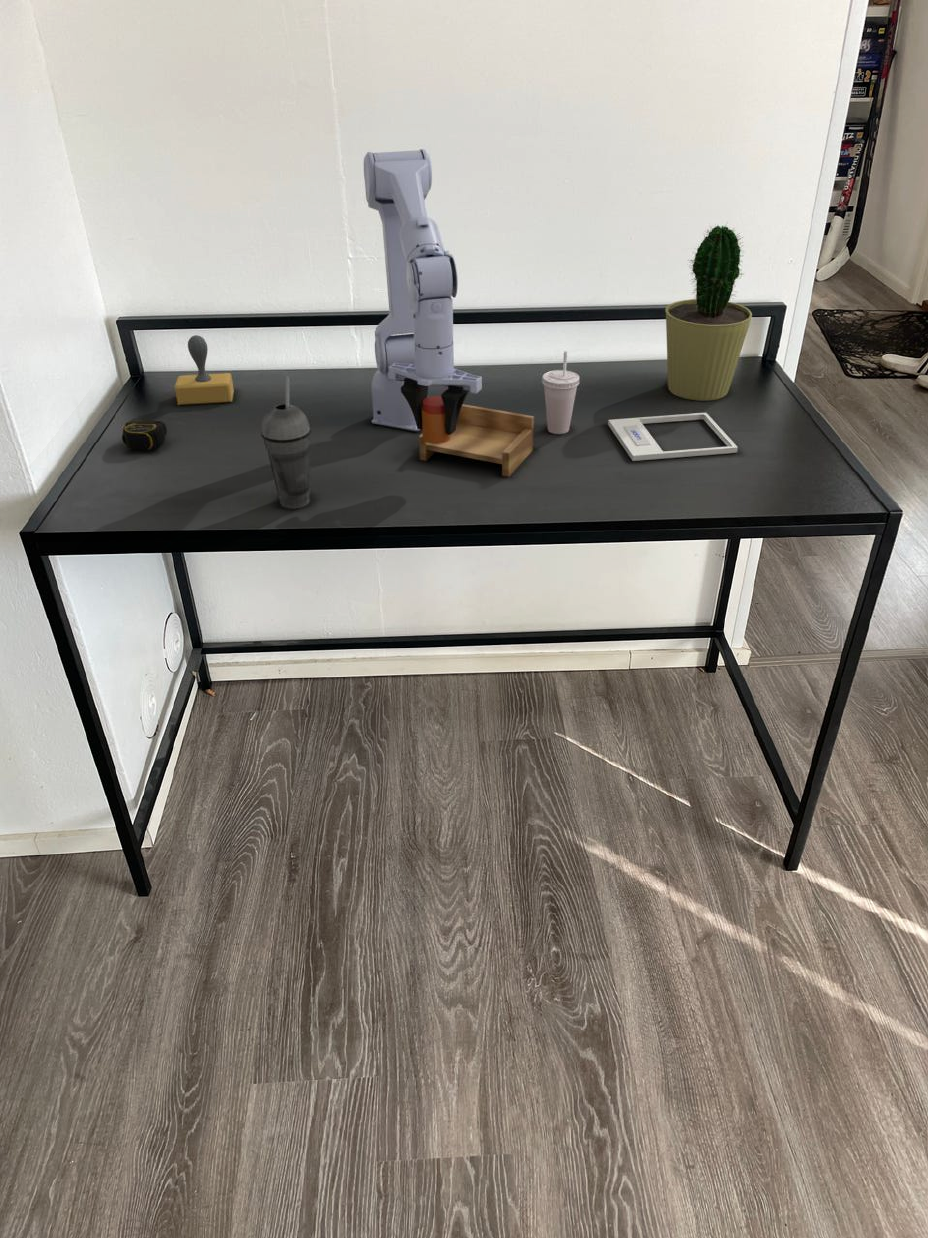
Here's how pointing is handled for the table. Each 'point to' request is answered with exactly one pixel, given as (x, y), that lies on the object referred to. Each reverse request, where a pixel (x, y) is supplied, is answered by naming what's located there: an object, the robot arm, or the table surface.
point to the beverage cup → (288, 452)
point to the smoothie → (560, 397)
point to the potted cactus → (707, 322)
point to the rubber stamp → (203, 380)
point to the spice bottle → (434, 421)
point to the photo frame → (646, 447)
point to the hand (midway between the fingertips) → (436, 429)
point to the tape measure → (144, 434)
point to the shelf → (487, 438)
